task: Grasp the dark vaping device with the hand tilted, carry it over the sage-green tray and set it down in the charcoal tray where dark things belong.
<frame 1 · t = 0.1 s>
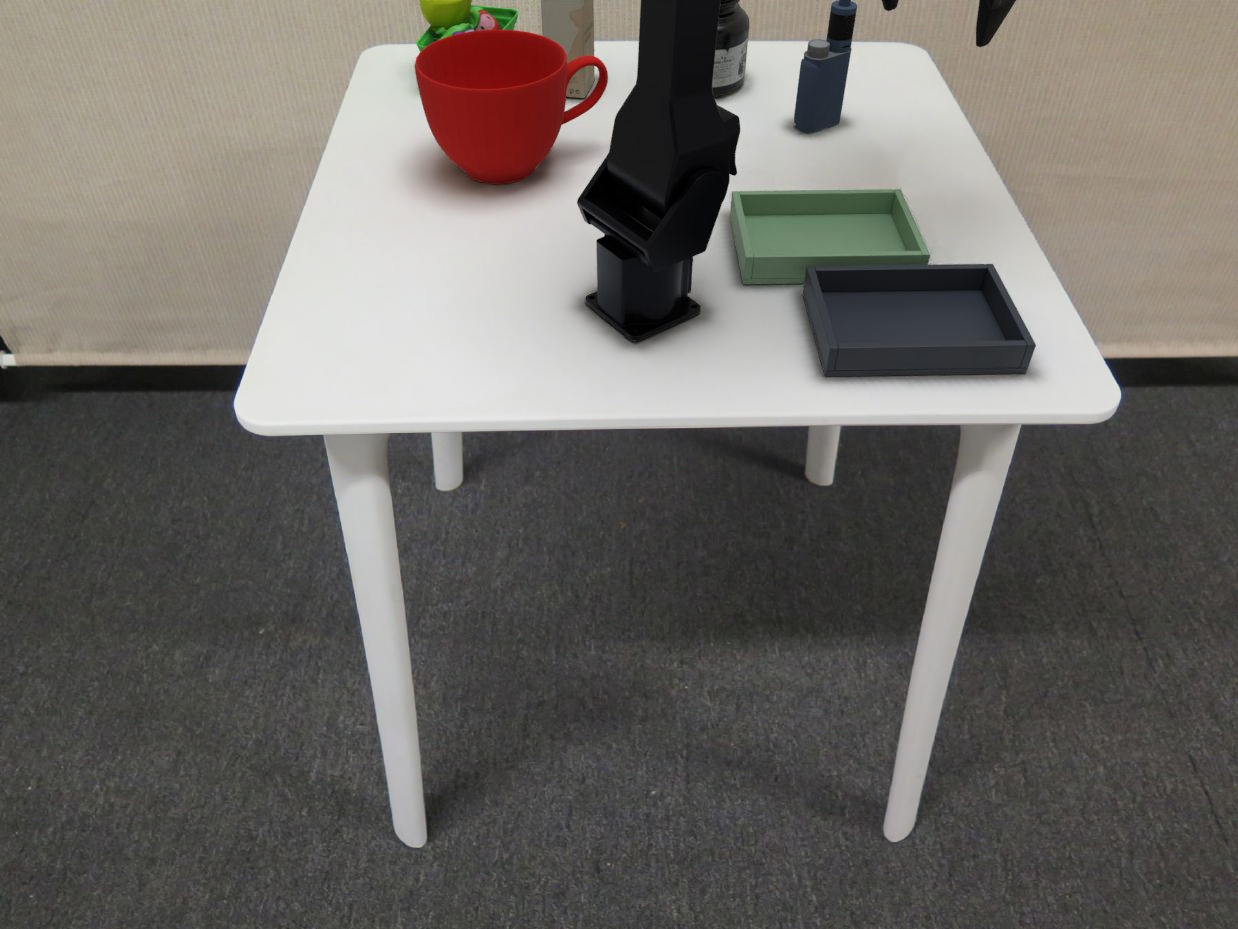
hand: (934, 26, 79), 15 cm above the table, tool pointing down, fingers open, 9 cm apart
box: (570, 89, 106), on the table
ink bottle: (702, 83, 107), on the table
charcoal tray: (908, 331, 75), on the table
sage tray: (822, 248, 83), on the table
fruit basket: (468, 76, 108), on the table
ceramic cup: (521, 165, 94), on the table
vaping device: (816, 126, 99), on the table
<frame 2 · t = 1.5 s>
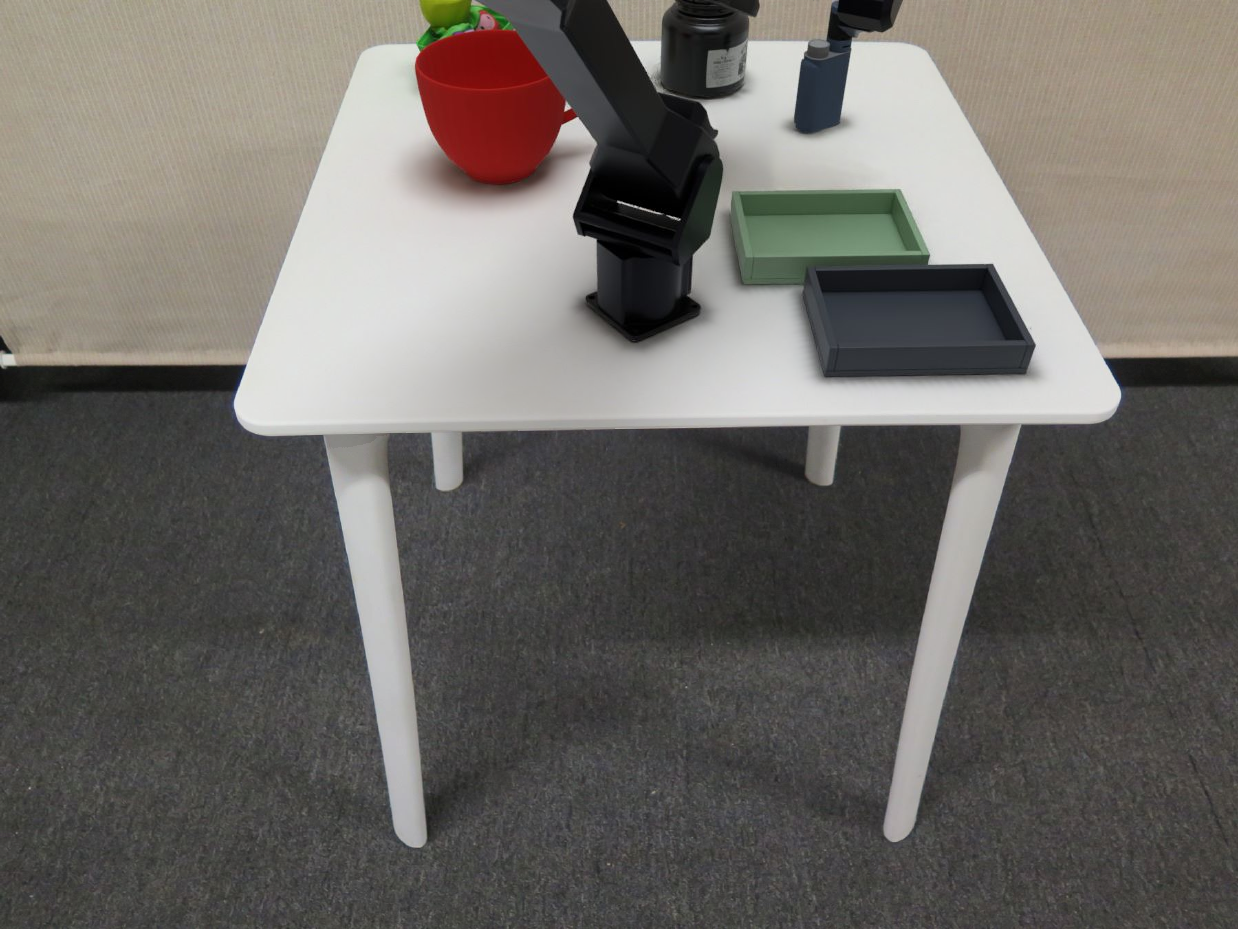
hand: (805, 21, 86), 12 cm above the table, tool tilted 45°, fingers open, 9 cm apart
nothing on the table moved.
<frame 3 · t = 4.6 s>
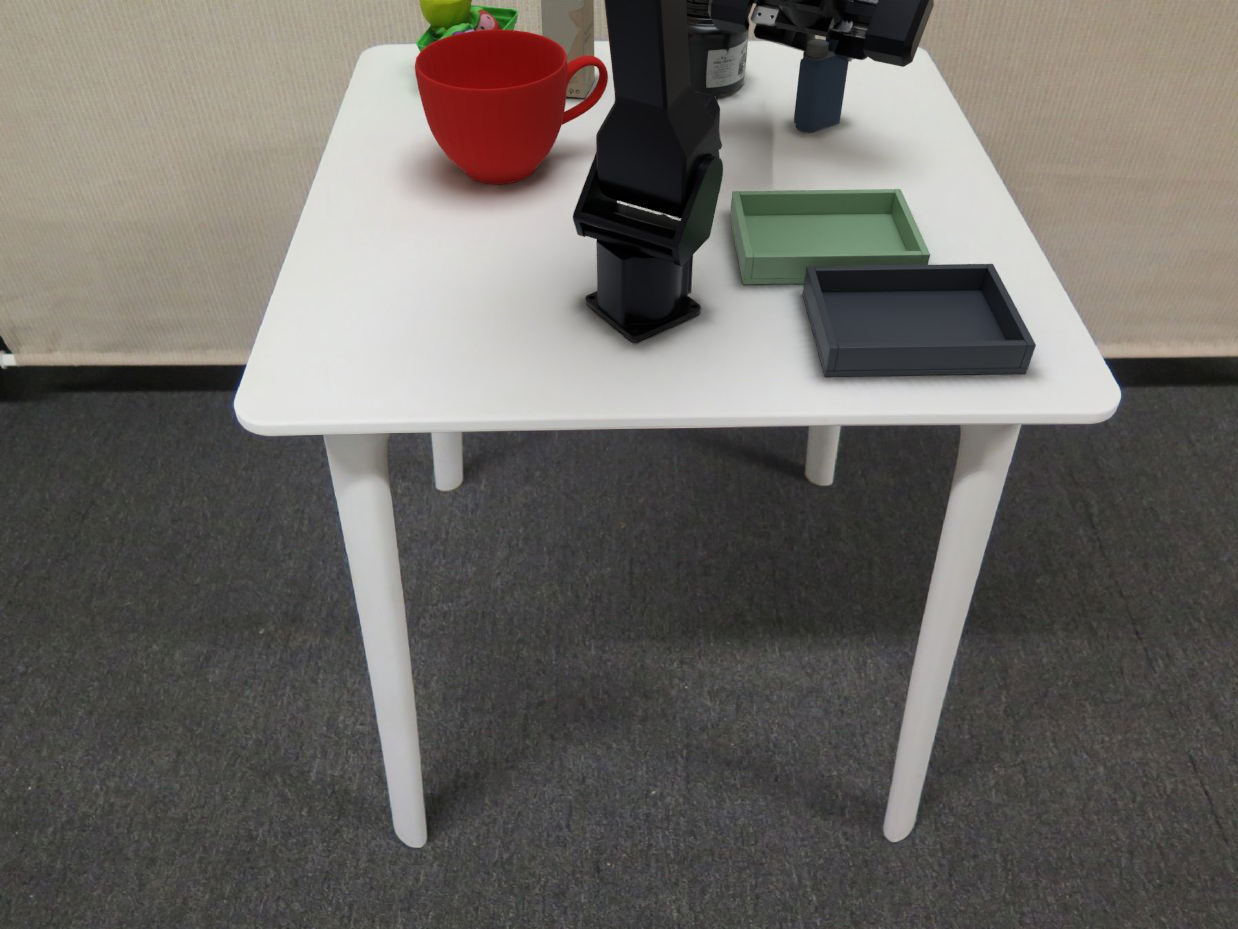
hand: (831, 52, 95), 7 cm above the table, tool tilted 45°, fingers closed on vaping device, 3 cm apart
vaping device: (816, 126, 99), on the table, touching gripper
everything else where it was.
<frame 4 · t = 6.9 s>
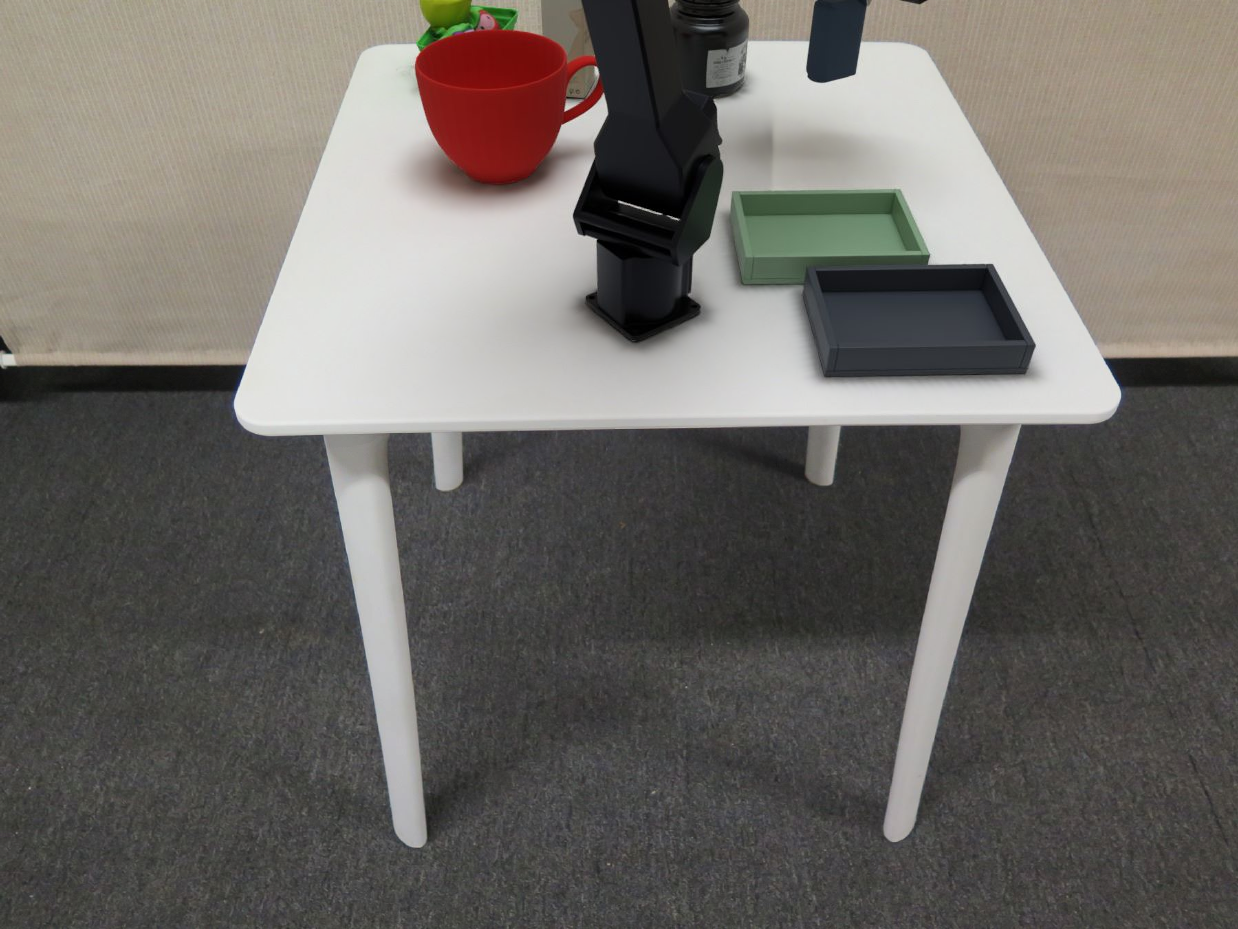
vaping device: (830, 77, 93), point 6 cm above the table, touching gripper
everything else where it was.
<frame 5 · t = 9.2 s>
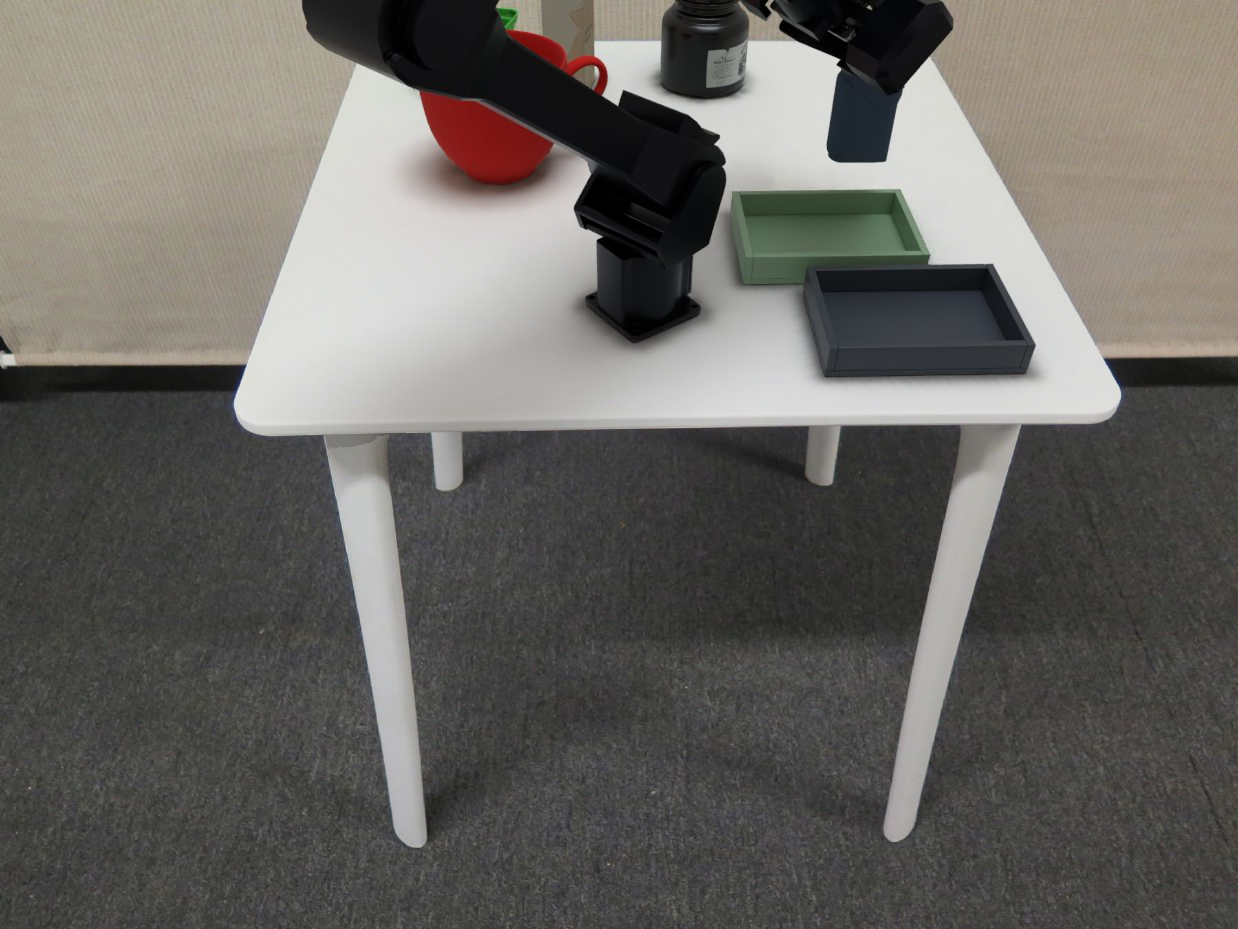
hand: (886, 73, 78), 12 cm above the table, tool tilted 45°, fingers closed on vaping device, 3 cm apart
vaping device: (856, 158, 82), point 6 cm above the table, touching gripper
everything else where it was.
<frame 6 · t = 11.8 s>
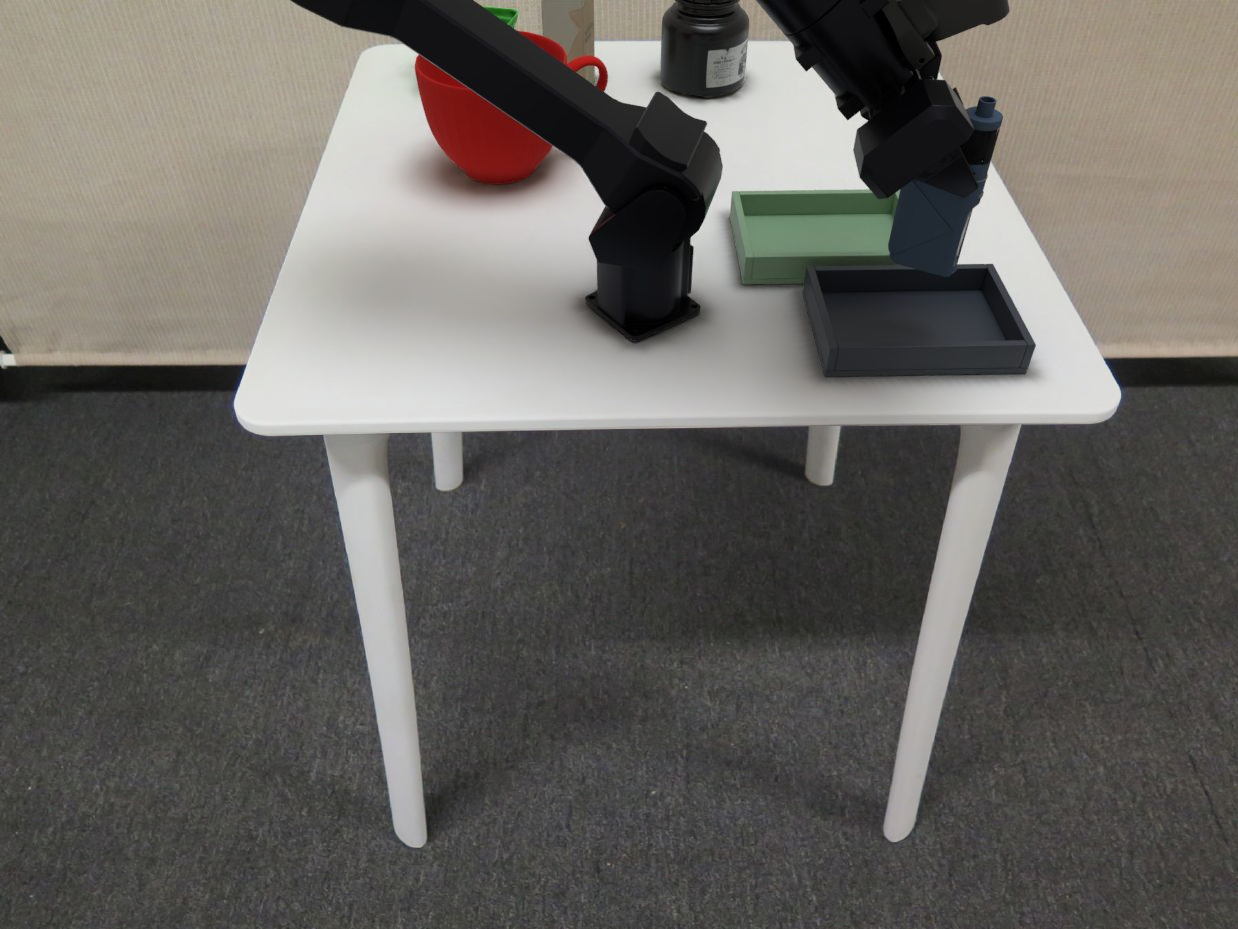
hand: (966, 177, 66), 12 cm above the table, tool tilted 45°, fingers closed on vaping device, 3 cm apart
vaping device: (922, 265, 71), point 6 cm above the table, touching gripper
everything else where it was.
when the fingers open (7 cm above the table, at t = 13.7 s): vaping device stays where it is, resting on charcoal tray.
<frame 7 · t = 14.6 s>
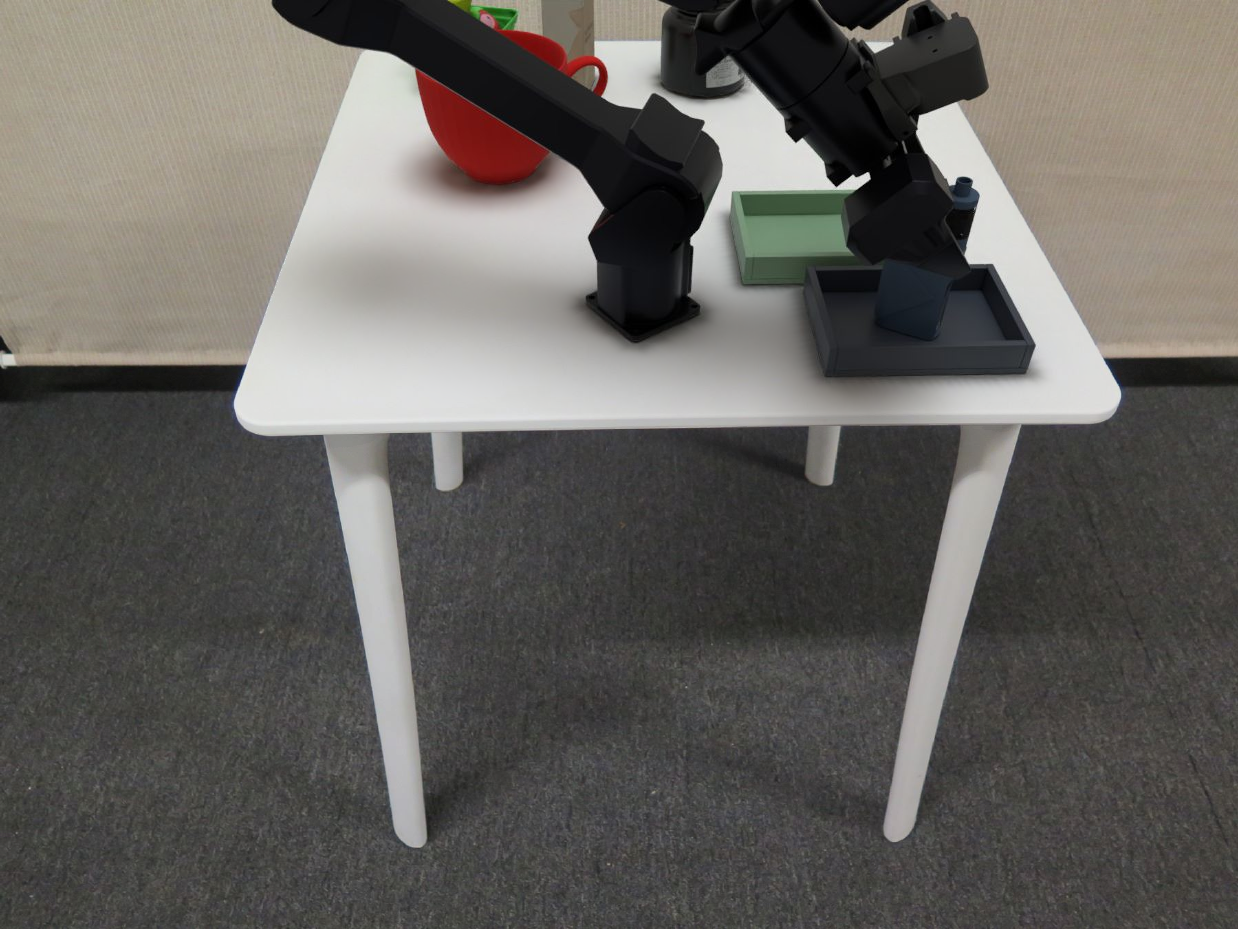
hand: (952, 236, 69), 8 cm above the table, tool tilted 45°, fingers open, 9 cm apart
vaping device: (907, 327, 74), resting on charcoal tray
everything else where it was.
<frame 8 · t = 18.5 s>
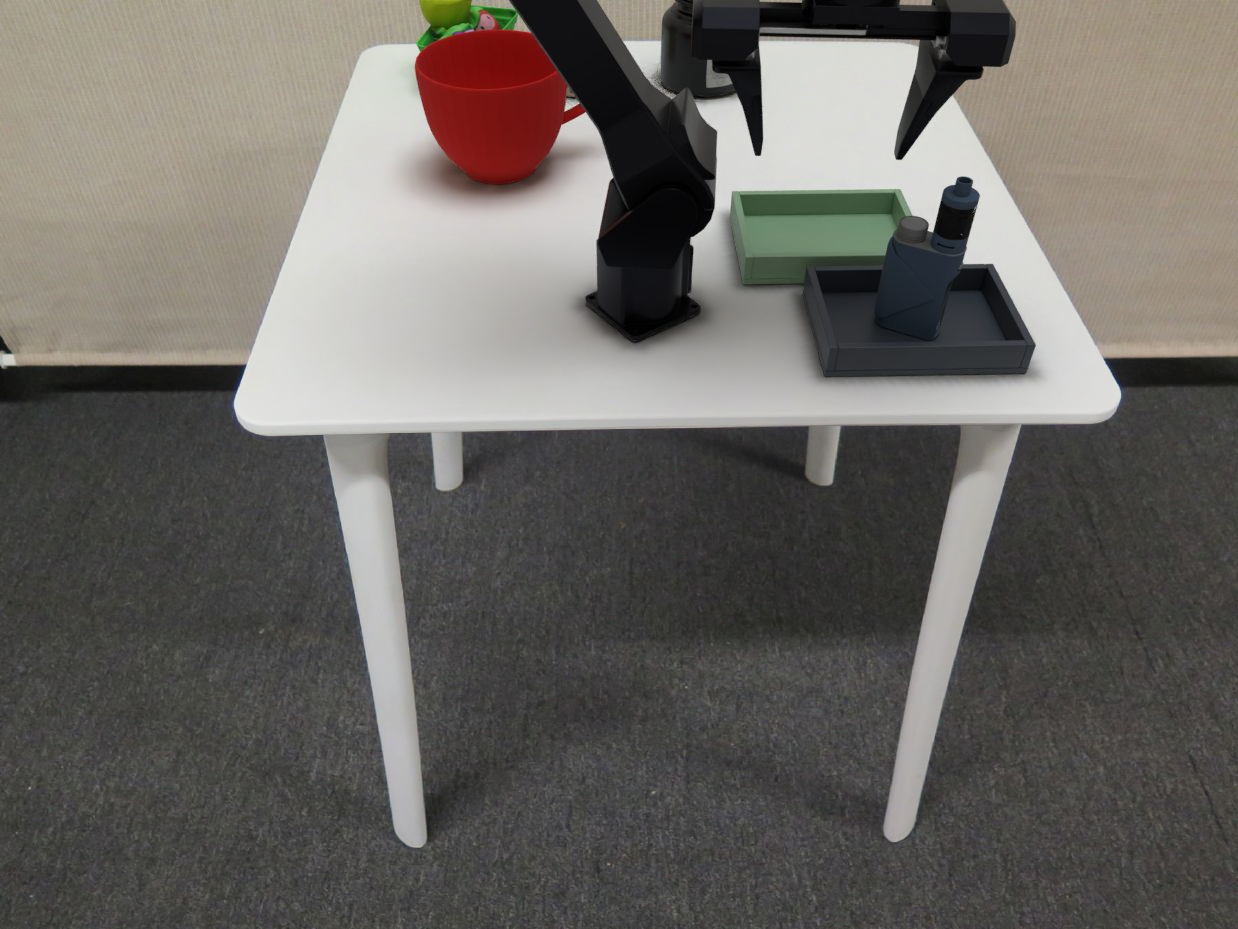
hand: (827, 155, 67), 13 cm above the table, tool pointing down, fingers open, 9 cm apart
nothing on the table moved.
at the end: vaping device inside the target area in the charcoal tray (0.2 cm from its centre), point 0.3 cm above the charcoal tray's base; vaping device tilted 0°; vaping device touching charcoal tray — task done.
